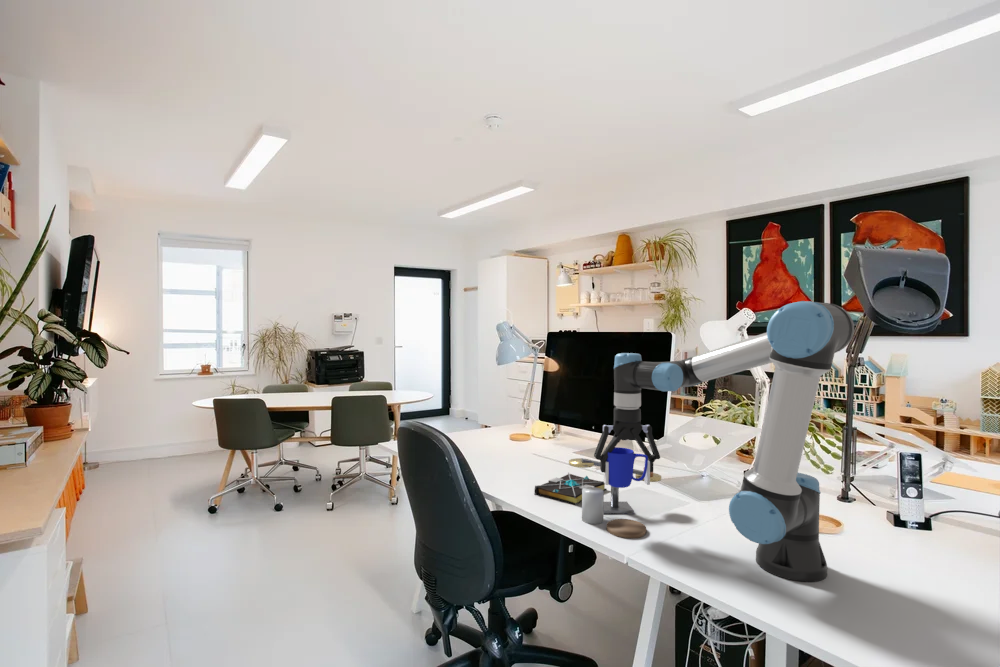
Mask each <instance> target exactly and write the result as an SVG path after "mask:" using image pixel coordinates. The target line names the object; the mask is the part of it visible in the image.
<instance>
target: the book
mask: <svg viewBox="0 0 1000 667" xmlns="http://www.w3.org/2000/svg"><path fill="white" fill-rule="evenodd" d="M605 485H606V484H605V483H604V480H603V481H601V480H597V479H596V480H595V479H591V478H589V477H588V475H586V476H584V477H583V476H579V475H576V474H572V473H570V472H567V474H565V475H563V476H561V477H553V478H551V479H549V480H548V482H545V483H543V484H540V485H537V484H536V485H534V493H533V494H534V496H541V497H546V498H550V499H554V500H556V501H557V500H558V501H562V502H564V503H568V504H570V505H571V504H572V505H575V506H577V505H579V504H580V503H582V489H583V488H586V487H596V488H600V489H602V490H603V491H604V492H605V491H607V488H606V487H605Z"/></svg>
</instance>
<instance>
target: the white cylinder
mask: <svg viewBox="0 0 1000 667" xmlns="http://www.w3.org/2000/svg"><path fill="white" fill-rule="evenodd" d="M604 492H605V490H604V491H603V490H602V489H600V488H596V487H586V488H583V489H582V501H581V521H582V522H584V523H586V524H588V525H599V524H602V523H604V517H605V516H604V515H605V514H604V502H605V501H604V500H605V499H604V497H605V494H604Z"/></svg>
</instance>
